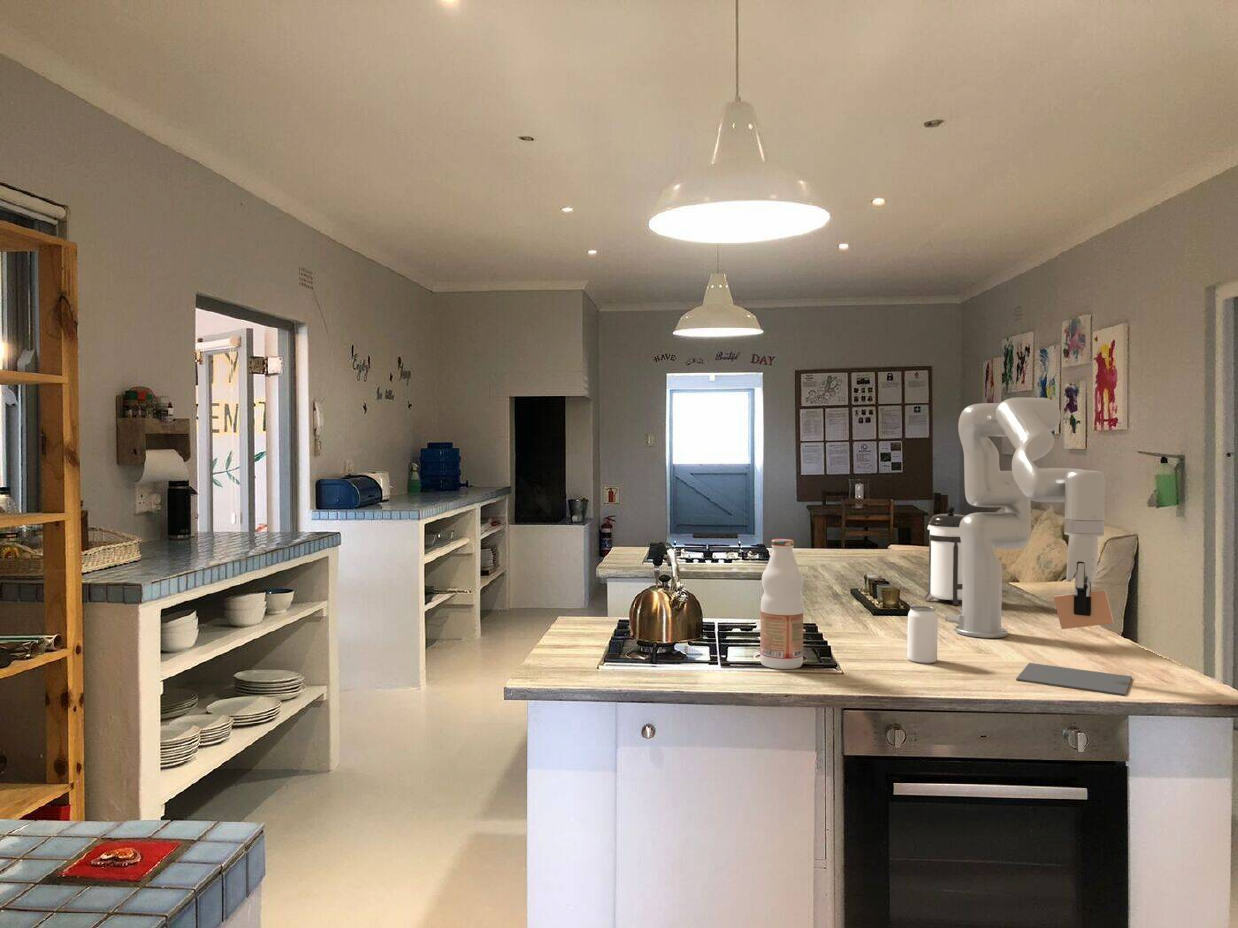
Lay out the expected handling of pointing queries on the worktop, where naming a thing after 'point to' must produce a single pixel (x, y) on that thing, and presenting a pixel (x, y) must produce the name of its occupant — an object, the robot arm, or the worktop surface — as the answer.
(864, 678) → the worktop surface
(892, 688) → the worktop surface
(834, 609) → the worktop surface
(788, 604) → the fruit juice
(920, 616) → the can
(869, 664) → the worktop surface
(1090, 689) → the mat
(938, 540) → the coffee press
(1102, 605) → the block
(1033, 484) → the robot arm
